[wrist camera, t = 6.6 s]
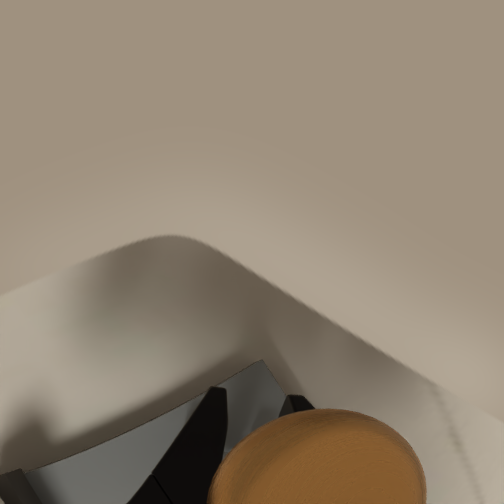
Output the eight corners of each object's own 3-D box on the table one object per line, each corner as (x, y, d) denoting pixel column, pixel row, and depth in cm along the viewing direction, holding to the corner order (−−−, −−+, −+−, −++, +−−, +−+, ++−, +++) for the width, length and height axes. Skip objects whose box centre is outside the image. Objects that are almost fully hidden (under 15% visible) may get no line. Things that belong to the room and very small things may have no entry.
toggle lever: (252, 495, 10) (458, 582, 1) (187, 489, 9) (208, 641, 1) (257, 438, 11) (469, 383, 3) (194, 431, 11) (235, 378, 2)
